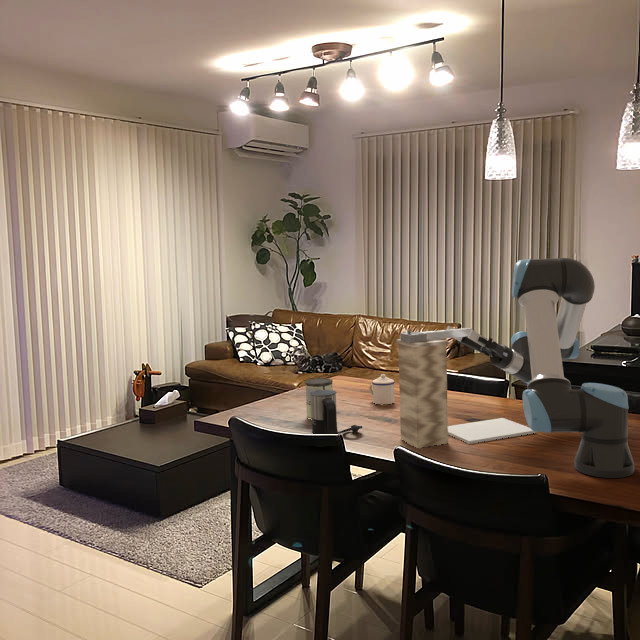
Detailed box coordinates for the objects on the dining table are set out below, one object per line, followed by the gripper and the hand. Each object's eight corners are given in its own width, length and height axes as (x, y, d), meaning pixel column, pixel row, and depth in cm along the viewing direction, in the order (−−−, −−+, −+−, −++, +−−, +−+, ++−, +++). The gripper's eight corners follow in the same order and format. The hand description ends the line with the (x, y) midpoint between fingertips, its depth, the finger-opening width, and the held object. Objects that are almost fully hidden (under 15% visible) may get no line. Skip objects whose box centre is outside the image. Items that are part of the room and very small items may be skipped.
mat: (469, 444, 211) (468, 441, 211) (438, 430, 228) (438, 427, 228) (536, 433, 221) (536, 430, 220) (502, 420, 237) (502, 417, 237)
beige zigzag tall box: (416, 449, 208) (414, 344, 204) (398, 439, 219) (396, 339, 215) (450, 443, 212) (448, 340, 209) (430, 434, 223) (428, 336, 220)
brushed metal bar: (409, 342, 207) (409, 331, 207) (400, 340, 213) (400, 329, 212) (475, 336, 216) (475, 325, 215) (465, 334, 221) (465, 323, 221)
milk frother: (305, 434, 229) (304, 392, 228) (342, 426, 238) (340, 385, 237) (330, 443, 218) (328, 398, 216) (368, 434, 227) (366, 391, 225)
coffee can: (309, 414, 257) (307, 377, 256) (335, 414, 255) (334, 377, 254) (304, 421, 247) (302, 383, 245) (331, 421, 245) (330, 383, 244)
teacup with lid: (399, 402, 270) (399, 374, 269) (385, 406, 264) (384, 377, 263) (377, 398, 279) (376, 370, 277) (362, 402, 272) (361, 374, 271)
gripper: (524, 375, 213) (475, 346, 205) (479, 363, 236) (433, 337, 229) (534, 353, 213) (485, 324, 206) (488, 344, 237) (442, 318, 229)
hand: (458, 331), depth 217 cm, fingers open, 13 cm apart
